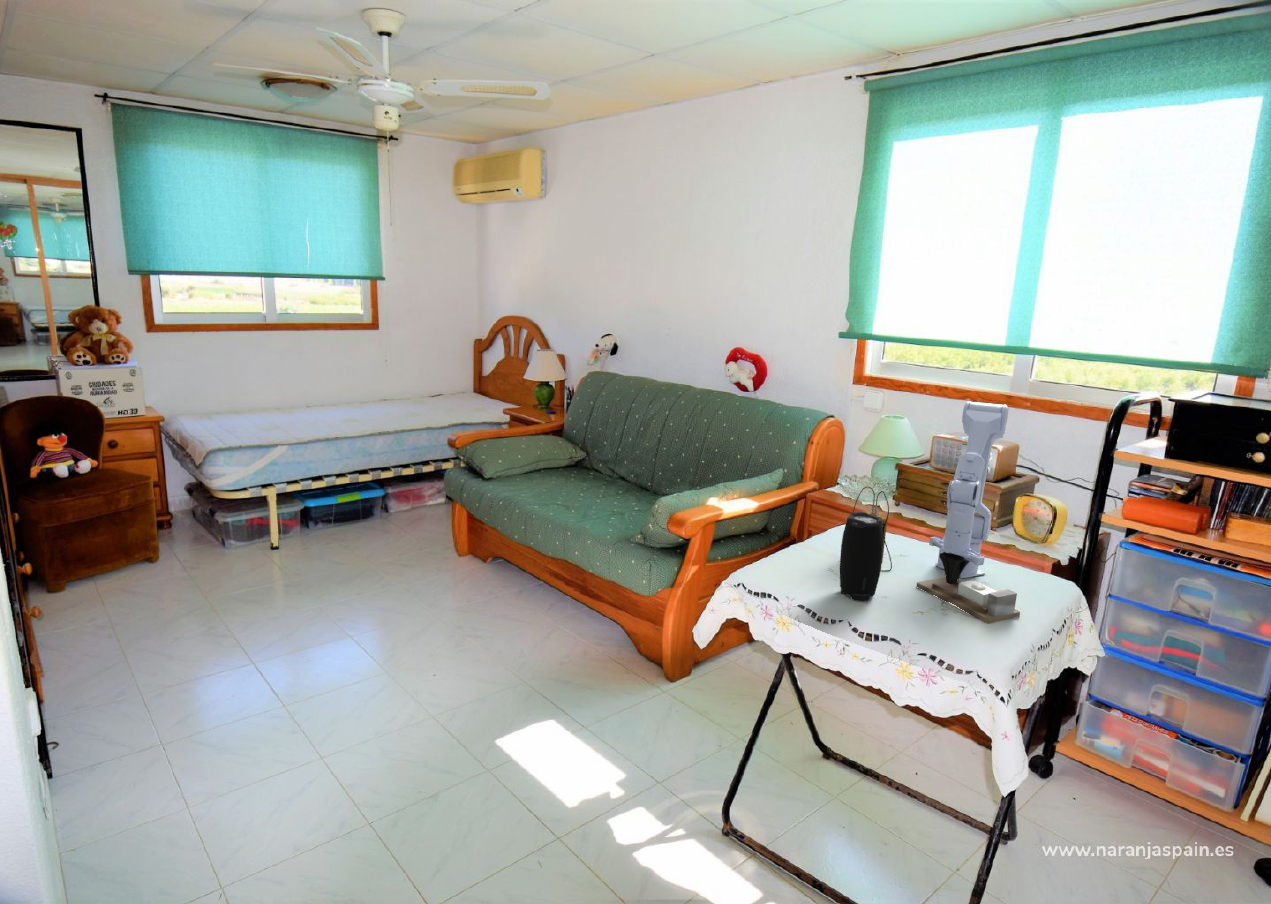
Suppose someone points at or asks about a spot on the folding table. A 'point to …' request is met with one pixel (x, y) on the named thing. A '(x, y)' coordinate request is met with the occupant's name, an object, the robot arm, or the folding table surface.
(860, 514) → the portable speaker
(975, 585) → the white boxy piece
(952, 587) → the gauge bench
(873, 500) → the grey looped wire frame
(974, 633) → the folding table surface
